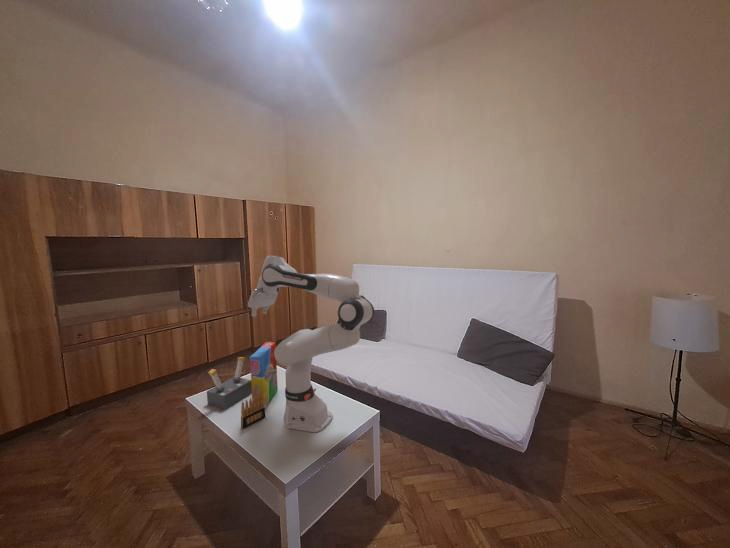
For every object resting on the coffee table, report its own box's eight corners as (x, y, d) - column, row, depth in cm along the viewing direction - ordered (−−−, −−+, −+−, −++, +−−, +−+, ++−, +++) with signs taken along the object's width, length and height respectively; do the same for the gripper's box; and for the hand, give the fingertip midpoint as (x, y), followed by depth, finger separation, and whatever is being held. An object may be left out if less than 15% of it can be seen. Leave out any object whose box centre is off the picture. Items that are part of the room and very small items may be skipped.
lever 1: (225, 388, 141) (216, 369, 136) (221, 392, 140) (212, 373, 134) (220, 387, 143) (211, 368, 138) (217, 390, 141) (207, 372, 136)
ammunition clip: (243, 429, 122) (241, 403, 121) (241, 427, 123) (239, 401, 122) (265, 417, 130) (264, 392, 129) (263, 416, 132) (262, 391, 130)
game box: (263, 412, 134) (260, 357, 131) (252, 412, 134) (249, 357, 131) (277, 389, 155) (275, 341, 152) (268, 389, 155) (265, 341, 152)
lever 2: (240, 381, 150) (245, 357, 152) (236, 382, 148) (241, 357, 150) (235, 380, 151) (241, 356, 154) (232, 380, 149) (237, 357, 152)
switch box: (252, 392, 152) (251, 380, 151) (224, 410, 136) (223, 395, 136) (235, 388, 157) (235, 375, 156) (207, 404, 141) (206, 390, 141)
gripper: (261, 290, 126) (253, 320, 126) (281, 288, 146) (274, 313, 147) (248, 286, 127) (240, 315, 127) (270, 284, 147) (263, 310, 148)
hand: (258, 314), depth 137 cm, fingers open, 8 cm apart
